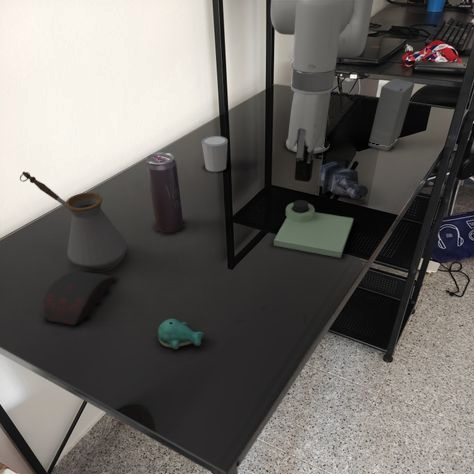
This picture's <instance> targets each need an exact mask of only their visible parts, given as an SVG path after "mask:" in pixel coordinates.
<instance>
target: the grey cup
mask: <svg viewBox="0 0 474 474" xmlns="http://www.w3.org/2000/svg"><path fill="white" fill-rule="evenodd" d="M201 146H202V154H203V159H204V166H205V169H206V170H207V171H208V172H213V173H218V172H222V171H224V170H226V169H227V163H228V162H227V158H228V139H227V138H226V137H224V136H220V135H211V136H206V137H204V138H202V139H201Z"/></svg>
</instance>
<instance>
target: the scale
mask: <svg viewBox="0 0 474 474" xmlns="http://www.w3.org/2000/svg"><path fill="white" fill-rule="evenodd" d="M293 203H294V202H291V203H289V204H287V206H286V207H285V216H286V218H285V220H284V222H283V223H282V225H281V227H280V228H279V231H278V232H277V234H276V235H275V237H274V239H273V246H274V247H280V248H285V249H290V250H297V251H301V252H307V253H313V254H317V255H318V254H319V255H324V256H329V257H333V258H340V259H341V258H342V255H343V253H344V250H345V247H346V244H347V241H348V238H349V235H350V232H351V230H352V227H353V224H354V217H348V216H342V215H341V216H340V215H335V214H328V213H322V212H316V210H315V209H316V208H315V207H314V205H313V204H310V203H308V211H307V212H305V213H297V212H294V211H293Z"/></svg>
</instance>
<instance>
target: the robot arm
mask: <svg viewBox="0 0 474 474" xmlns="http://www.w3.org/2000/svg"><path fill="white" fill-rule="evenodd" d="M373 4H374V0H270V20H271V25H272V27H273V29H274V31H276V32H277V33H278V34H281V35H284V36H285V35H289V36H293V37H294V38H293V50H292V65H291V66H292V67H291V79H290V81H291V82H290V83H291V84H290V90H291V91H292V92H293V98H292V102H291V109H290V117H289V128H288V133H287V134H288V135H287V139H286V141H285V146H286V148H287V149H288V151H291V152H294V153H296V156H295V168H294V169H295V171H294V180H295V181H300V182H305V183H309V182H310V181H311V179H312V176H313V167H314V155H316V154H320V153H324V152H327V150H328V149H329V148H330V144H329V146H328V147H327V148H325V147H324V141H325V138H326V134H327V133H326V132H327V125H328V116H329V109H330V101H331V92H332V91H333V89H334V83H335V82H334V81H335V74H336V67H337V59H338V58H339V59H340V58H341V59H342V58H345V59H347V58H348V59H350V58H357V57H359V56H361V55H362V54H363V52H364V51H365V48H366V45H367V40H368V36H369V30H370V23H371V18H372V17H371V16H372V10H373Z"/></svg>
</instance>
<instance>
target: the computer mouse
mask: <svg viewBox="0 0 474 474" xmlns="http://www.w3.org/2000/svg"><path fill="white" fill-rule="evenodd" d="M113 281H114V277H113V276H110V275H106V274H103V273H99V272H89V271H87V272H85V271H78V272H70V273H66V274H64V275H63V276H61V277H58V279H56V280H55V281H54V282H53V283H52V284H51V285H50V286H49V288H48V289H47V291H46V292H45V294H44V298H43V305H42V306H43V312H44V315H45V318H46V320H47V321H49V322H52V323H58V324H64V325H69V326H76V325H78V324H80V322H82V321H83V320H84V319H86V317H87V316H88V315H89V314H90V313H91V311H92V310H93V309H94V308H95V306H96V305H97V303H98V302H99V301H100V299H101V298H102V297H103V296H104V295H105V292H106V291H107V290H108V289H109V287H110V286H111V285H112V283H113Z"/></svg>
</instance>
